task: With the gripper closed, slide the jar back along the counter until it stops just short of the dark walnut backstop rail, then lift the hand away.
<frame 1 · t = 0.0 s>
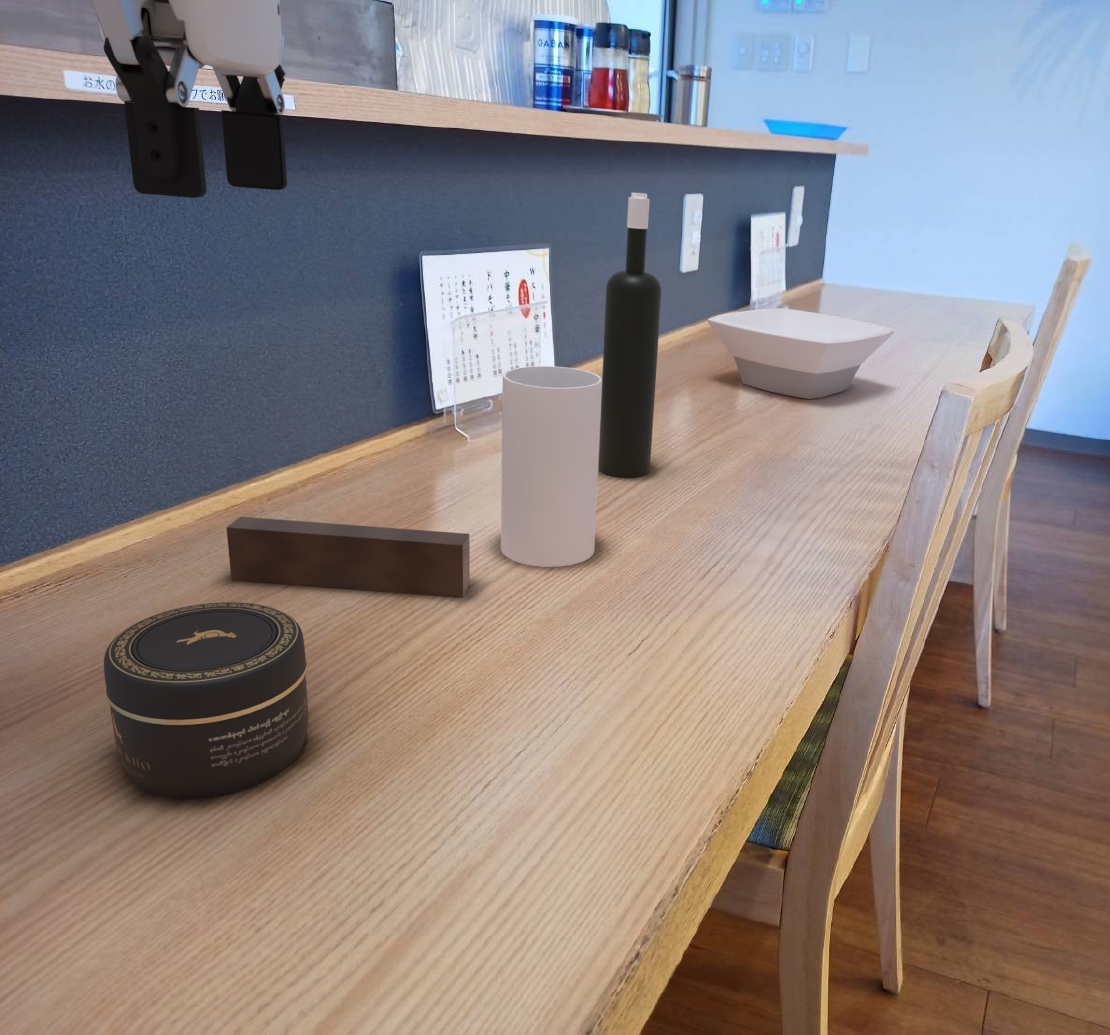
hand: (218, 191, 51), 31 cm above the counter, tool pointing down, fingers open, 9 cm apart
wine bottle: (623, 476, 110), on the counter
jar: (219, 760, 56), on the counter
backstop: (352, 589, 78), on the counter
cup: (547, 555, 87), on the counter
bowl: (795, 387, 159), on the counter
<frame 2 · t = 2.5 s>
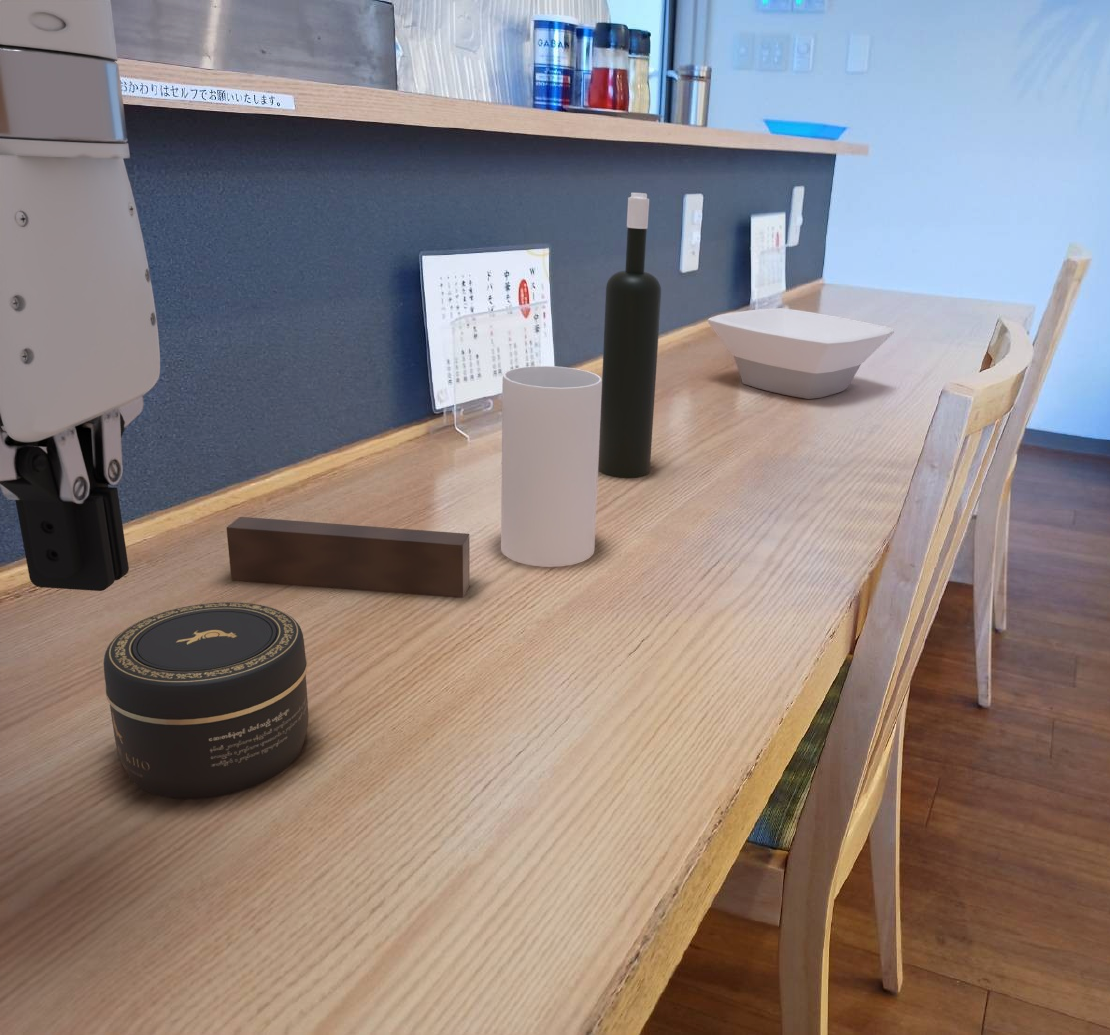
hand: (81, 580, 41), 16 cm above the counter, tool pointing down, fingers closed
nothing on the counter moved.
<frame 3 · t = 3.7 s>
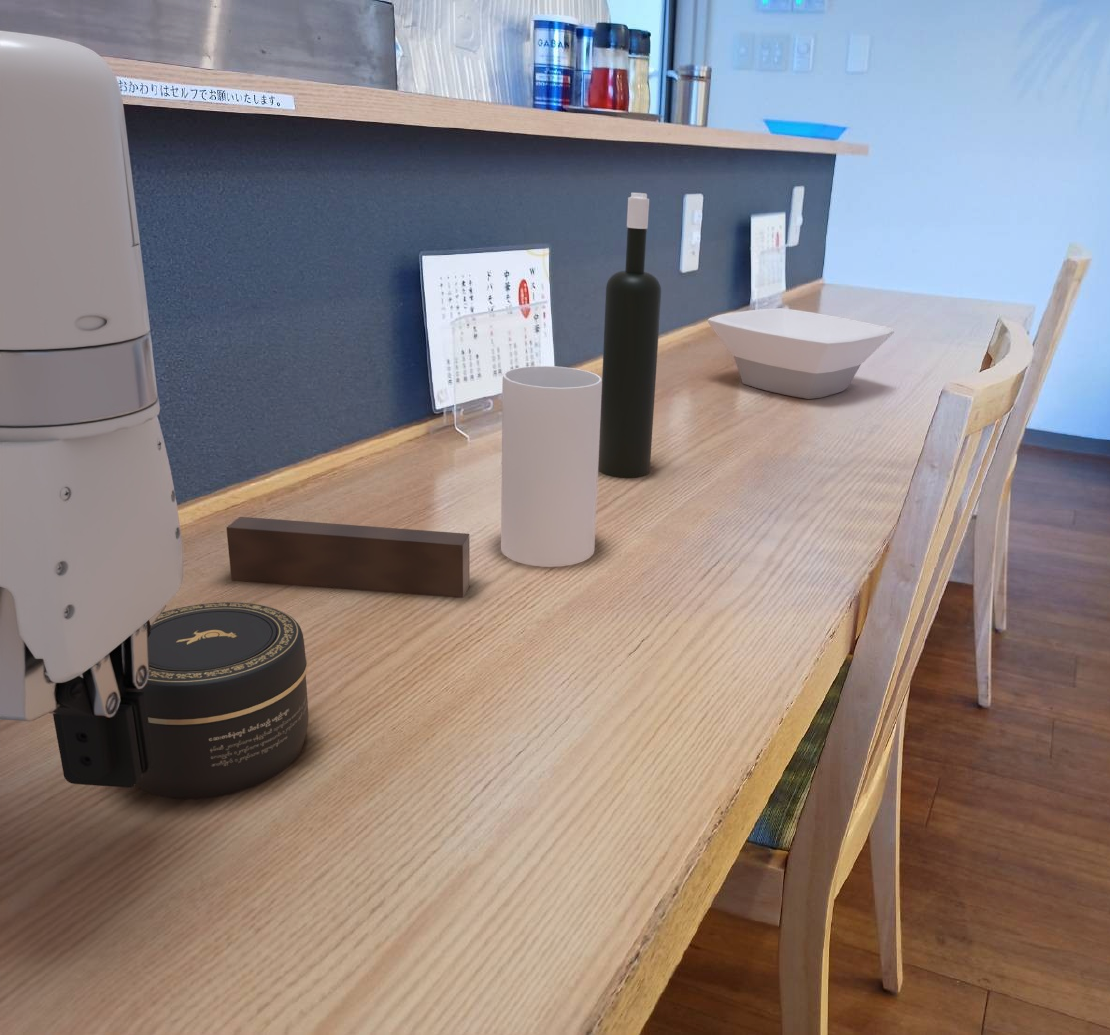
hand: (110, 774, 45), 6 cm above the counter, tool pointing down, fingers closed
nothing on the counter moved.
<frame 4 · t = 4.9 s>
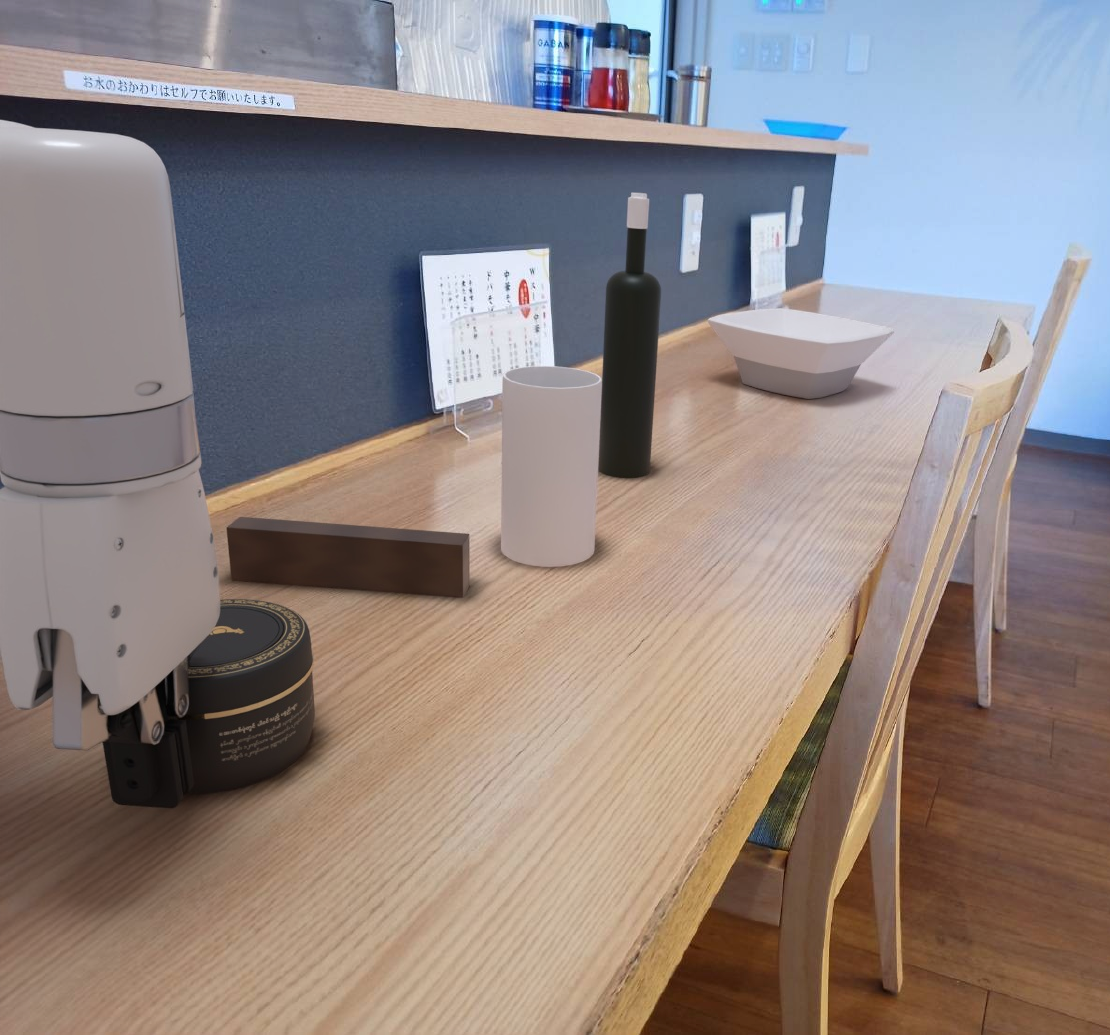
hand: (154, 796, 48), 3 cm above the counter, tool pointing down, fingers closed
jar: (226, 755, 57), on the counter, touching gripper
everything else where it was.
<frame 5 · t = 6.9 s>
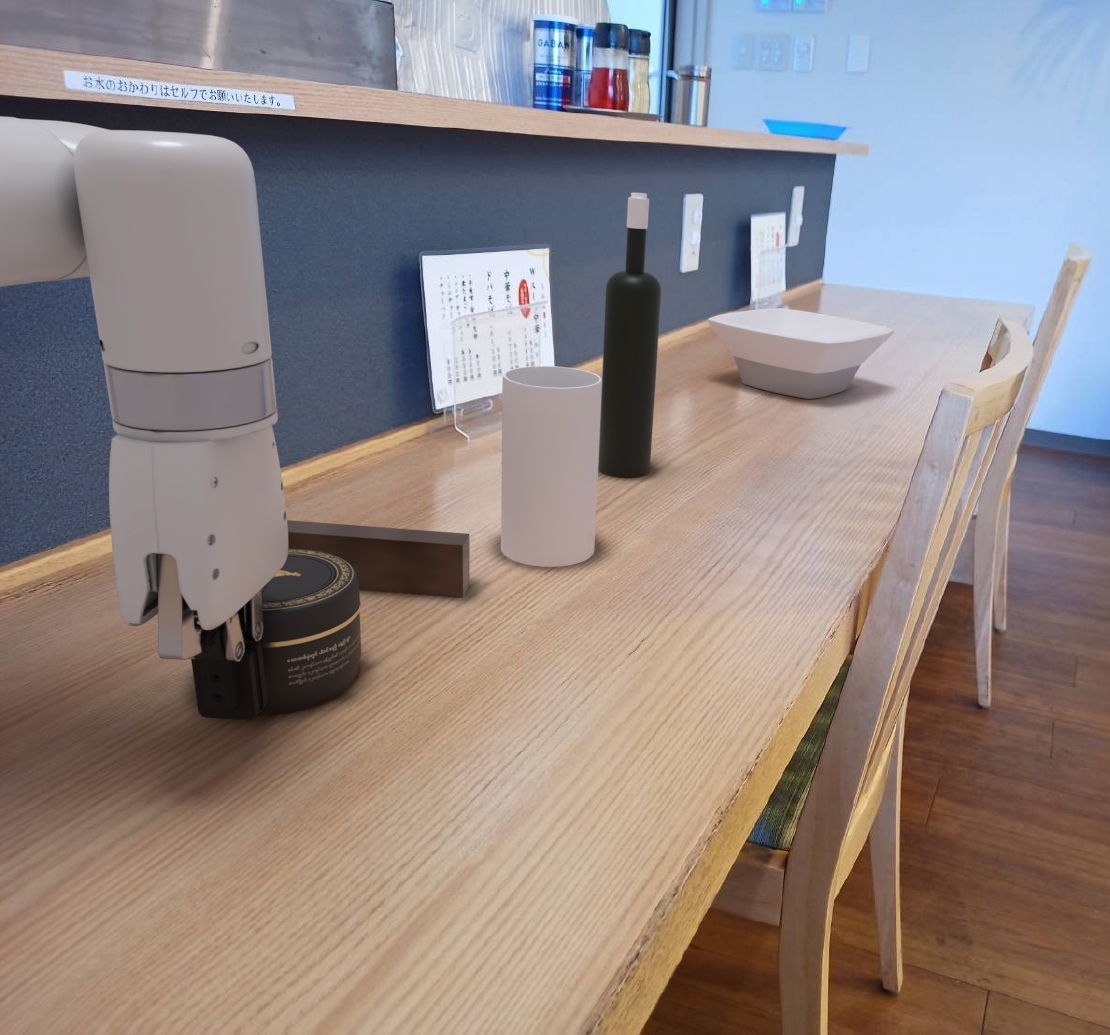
hand: (233, 710, 56), 3 cm above the counter, tool pointing down, fingers closed
jar: (283, 686, 64), on the counter, touching gripper
everything else where it was.
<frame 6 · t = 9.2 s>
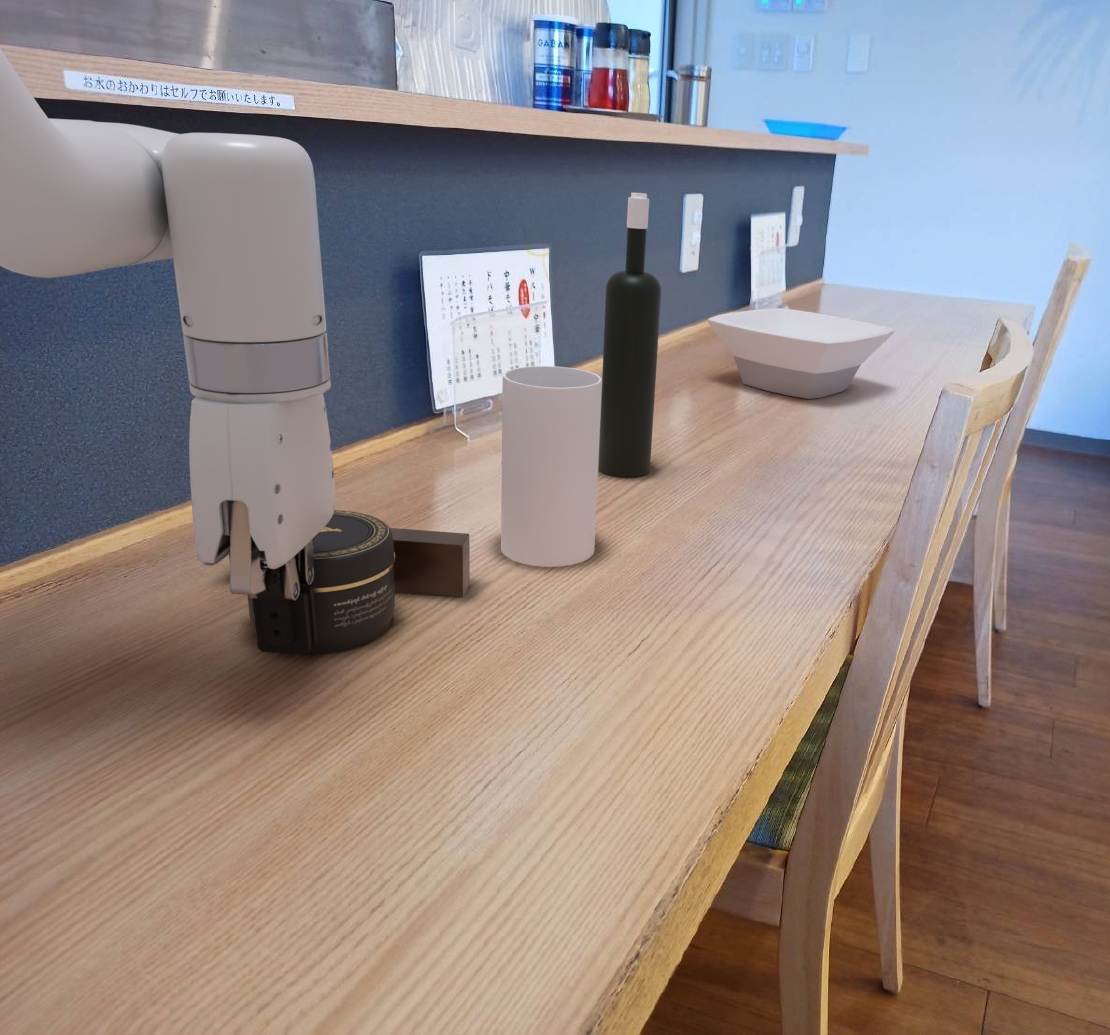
hand: (288, 646, 63), 3 cm above the counter, tool pointing down, fingers closed
jar: (325, 632, 71), on the counter, touching gripper
everything else where it was.
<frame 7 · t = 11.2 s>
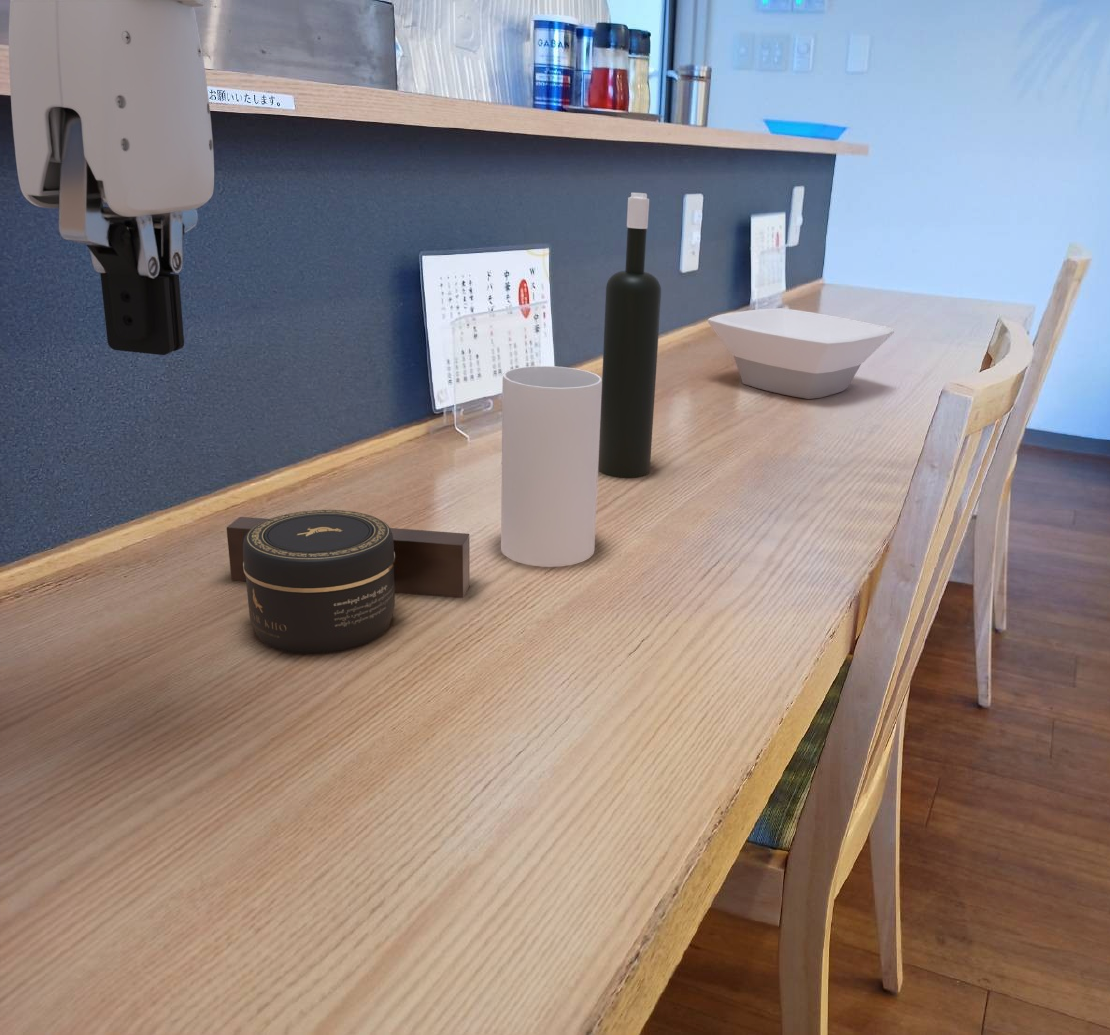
hand: (147, 348, 52), 22 cm above the counter, tool pointing down, fingers closed
jar: (325, 632, 71), on the counter
everything else where it was.
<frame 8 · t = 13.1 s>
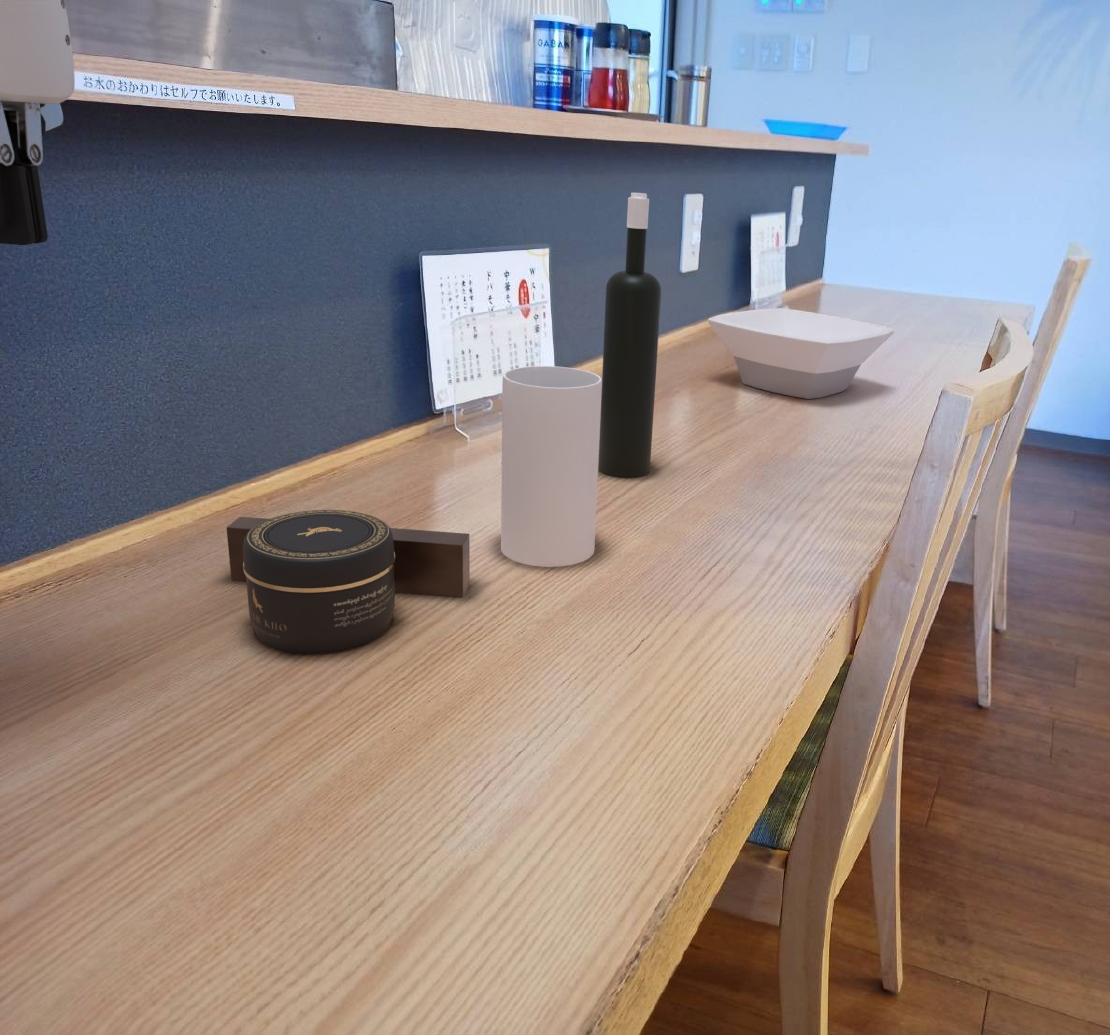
hand: (9, 241, 53), 27 cm above the counter, tool pointing down, fingers closed
nothing on the counter moved.
at the end: jar inside the target area on the counter beside the backstop (2.2 cm from its centre), on the counter; jar moved 15.9 cm from its start; jar tilted 0° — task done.
